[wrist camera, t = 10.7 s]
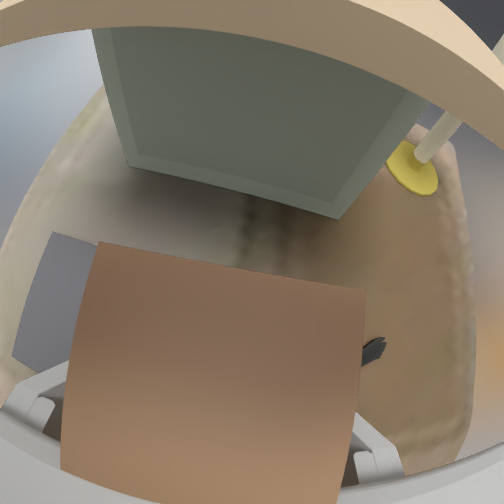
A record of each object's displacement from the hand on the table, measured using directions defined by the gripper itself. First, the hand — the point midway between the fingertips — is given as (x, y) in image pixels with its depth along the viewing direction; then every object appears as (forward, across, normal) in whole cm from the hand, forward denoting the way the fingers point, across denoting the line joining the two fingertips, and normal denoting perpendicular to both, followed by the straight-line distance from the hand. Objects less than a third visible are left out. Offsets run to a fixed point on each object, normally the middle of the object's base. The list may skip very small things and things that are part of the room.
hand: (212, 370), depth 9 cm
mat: (+12, +13, +10) cm, 21 cm away
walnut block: (+4, 0, +5) cm, 6 cm away
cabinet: (+23, +1, -1) cm, 23 cm away
